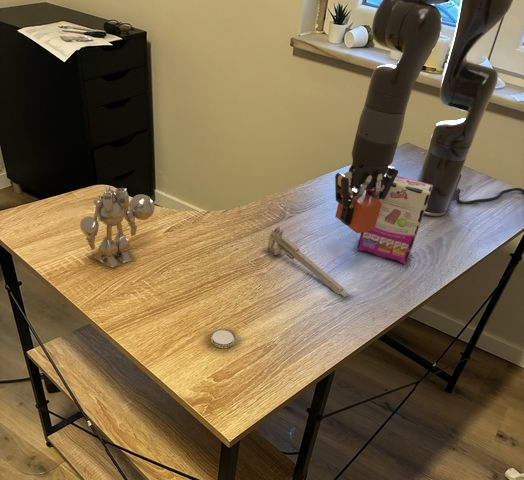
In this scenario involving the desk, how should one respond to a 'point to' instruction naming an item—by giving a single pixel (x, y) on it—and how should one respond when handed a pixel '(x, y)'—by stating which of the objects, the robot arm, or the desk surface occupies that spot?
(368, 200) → the block
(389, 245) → the candy bar box
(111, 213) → the robot toy
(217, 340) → the ridged bottle cap
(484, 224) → the desk surface
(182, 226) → the desk surface
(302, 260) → the caliper
